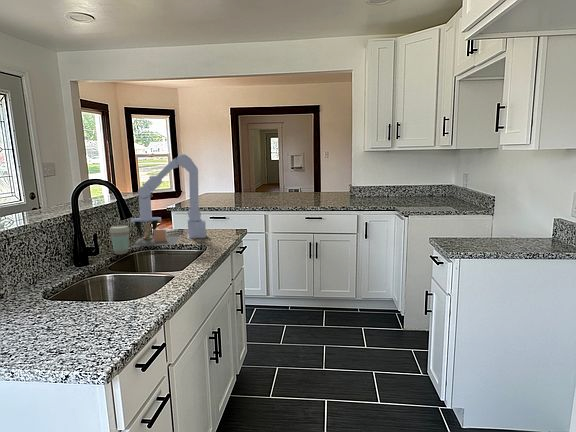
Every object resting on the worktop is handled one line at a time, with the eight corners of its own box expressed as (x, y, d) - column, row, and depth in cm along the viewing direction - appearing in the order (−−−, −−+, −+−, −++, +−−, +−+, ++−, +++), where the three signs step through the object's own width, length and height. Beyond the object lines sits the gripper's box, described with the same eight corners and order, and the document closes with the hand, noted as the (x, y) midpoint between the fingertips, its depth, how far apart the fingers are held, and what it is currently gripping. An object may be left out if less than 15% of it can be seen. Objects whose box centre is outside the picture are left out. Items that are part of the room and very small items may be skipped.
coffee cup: (135, 250, 177) (133, 225, 176) (123, 255, 169) (121, 229, 167) (119, 250, 180) (117, 224, 178) (106, 254, 171) (104, 228, 169)
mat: (178, 237, 205) (178, 236, 205) (175, 245, 188) (175, 244, 188) (138, 239, 201) (138, 238, 201) (132, 247, 184) (132, 246, 184)
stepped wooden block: (152, 238, 201) (151, 223, 200) (151, 240, 198) (150, 224, 196) (144, 238, 201) (143, 223, 199) (143, 240, 197) (141, 225, 195)
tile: (166, 240, 196) (166, 228, 195) (166, 241, 194) (165, 229, 194) (154, 241, 195) (153, 229, 194) (154, 241, 193) (153, 230, 192)
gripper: (129, 211, 191) (131, 238, 193) (159, 210, 194) (161, 236, 196) (131, 209, 198) (133, 235, 200) (161, 208, 201) (162, 233, 203)
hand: (147, 235), depth 199 cm, fingers open, 6 cm apart
